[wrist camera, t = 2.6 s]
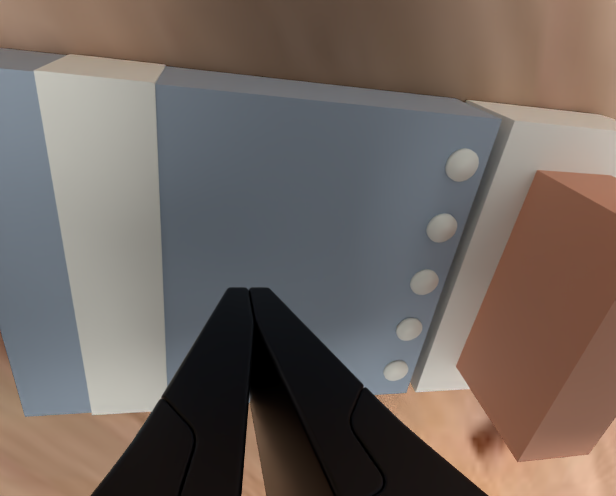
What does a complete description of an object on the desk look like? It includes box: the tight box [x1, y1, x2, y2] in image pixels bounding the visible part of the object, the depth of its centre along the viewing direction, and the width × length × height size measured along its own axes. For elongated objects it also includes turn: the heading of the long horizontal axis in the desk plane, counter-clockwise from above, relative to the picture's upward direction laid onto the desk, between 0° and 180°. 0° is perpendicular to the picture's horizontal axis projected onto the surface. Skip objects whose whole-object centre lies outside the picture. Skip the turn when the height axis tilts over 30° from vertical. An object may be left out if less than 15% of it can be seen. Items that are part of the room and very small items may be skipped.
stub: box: [410, 100, 616, 462], centre depth 11 cm, size 8×4×5 cm, turn 172°
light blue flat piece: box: [0, 48, 502, 417], centre depth 10 cm, size 8×10×2 cm
